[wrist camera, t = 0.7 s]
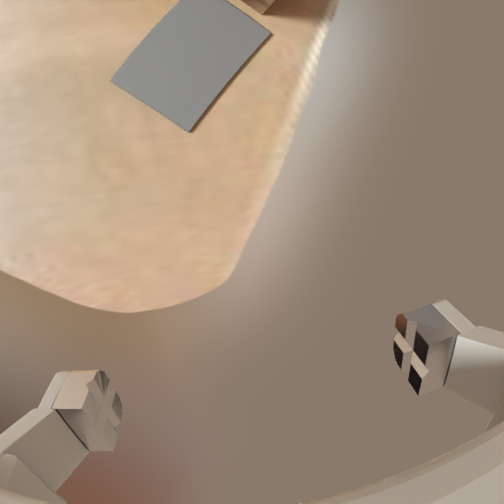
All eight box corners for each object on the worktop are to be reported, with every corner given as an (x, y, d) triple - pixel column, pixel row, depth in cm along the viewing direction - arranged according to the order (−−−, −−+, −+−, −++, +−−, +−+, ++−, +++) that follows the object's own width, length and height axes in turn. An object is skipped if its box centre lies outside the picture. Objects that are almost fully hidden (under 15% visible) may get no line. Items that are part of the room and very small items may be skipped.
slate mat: (110, 81, 38) (109, 80, 37) (197, -15, 36) (198, -17, 35) (188, 132, 43) (188, 132, 42) (269, 34, 41) (270, 32, 40)
